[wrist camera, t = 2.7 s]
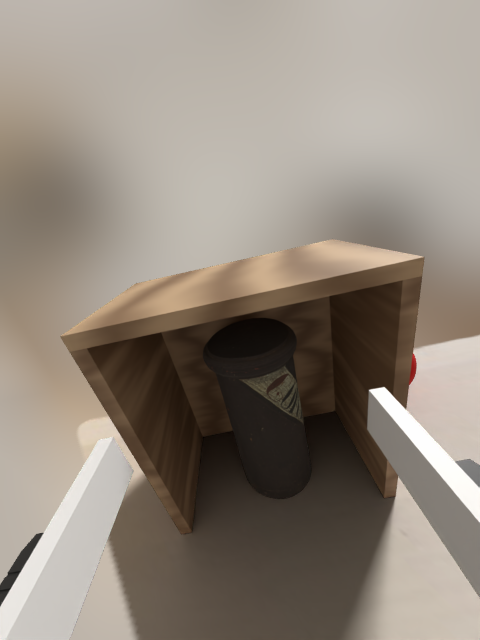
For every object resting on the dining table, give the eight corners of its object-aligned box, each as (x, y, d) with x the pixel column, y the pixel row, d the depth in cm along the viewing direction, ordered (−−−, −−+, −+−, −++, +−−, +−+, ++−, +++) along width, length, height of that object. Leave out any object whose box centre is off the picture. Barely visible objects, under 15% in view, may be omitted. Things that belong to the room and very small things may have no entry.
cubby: (339, 403, 36) (332, 239, 26) (395, 496, 24) (424, 256, 14) (196, 431, 37) (135, 283, 27) (181, 534, 25) (60, 336, 15)
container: (315, 508, 25) (295, 355, 16) (236, 498, 27) (184, 360, 19) (310, 437, 32) (294, 307, 24) (248, 434, 35) (215, 316, 26)
